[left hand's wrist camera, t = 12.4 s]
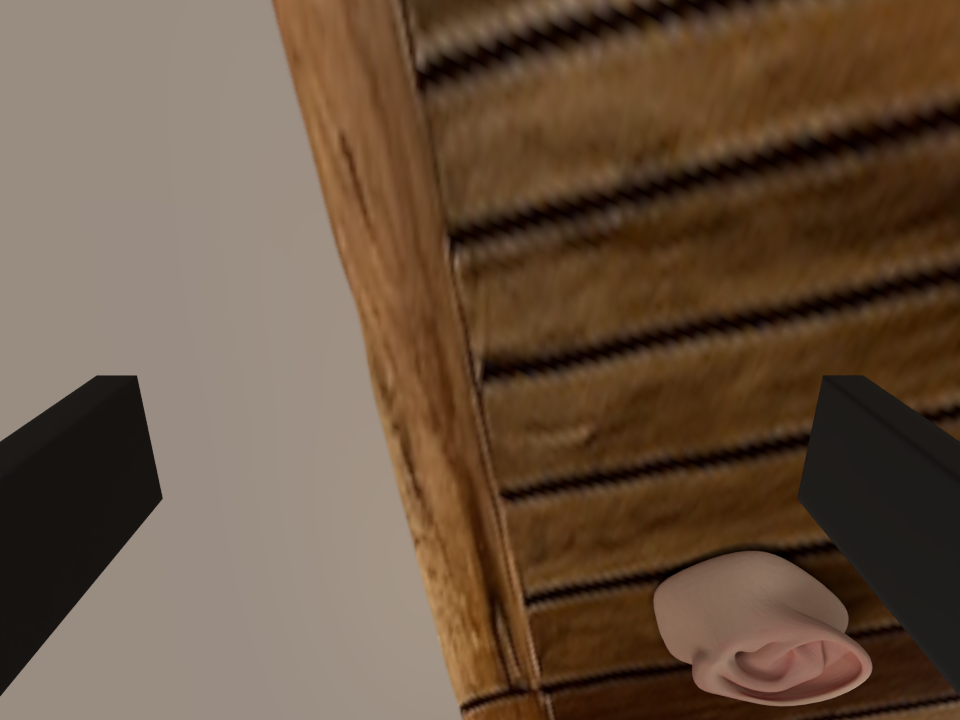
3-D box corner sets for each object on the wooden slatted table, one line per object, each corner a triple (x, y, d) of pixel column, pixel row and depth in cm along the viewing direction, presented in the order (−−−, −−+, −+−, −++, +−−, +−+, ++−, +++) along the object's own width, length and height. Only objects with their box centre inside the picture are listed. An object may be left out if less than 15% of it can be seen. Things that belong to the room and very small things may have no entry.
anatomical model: (635, 651, 41) (787, 551, 38) (623, 607, 45) (760, 513, 42) (752, 758, 45) (899, 674, 42) (731, 708, 48) (865, 628, 46)
